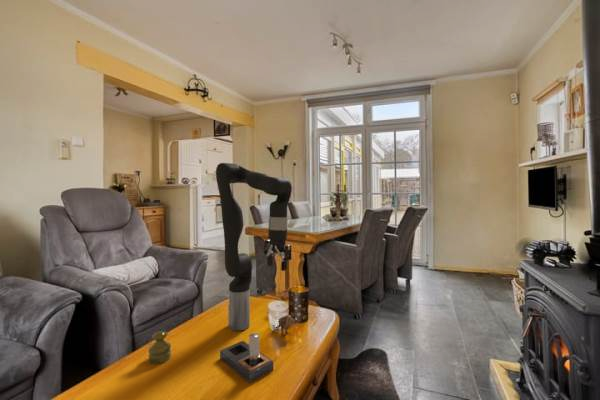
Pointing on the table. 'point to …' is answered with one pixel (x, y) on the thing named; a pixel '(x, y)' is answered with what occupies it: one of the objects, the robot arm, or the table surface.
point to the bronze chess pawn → (159, 349)
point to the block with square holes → (245, 361)
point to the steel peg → (254, 349)
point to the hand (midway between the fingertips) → (276, 268)
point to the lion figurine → (285, 323)
